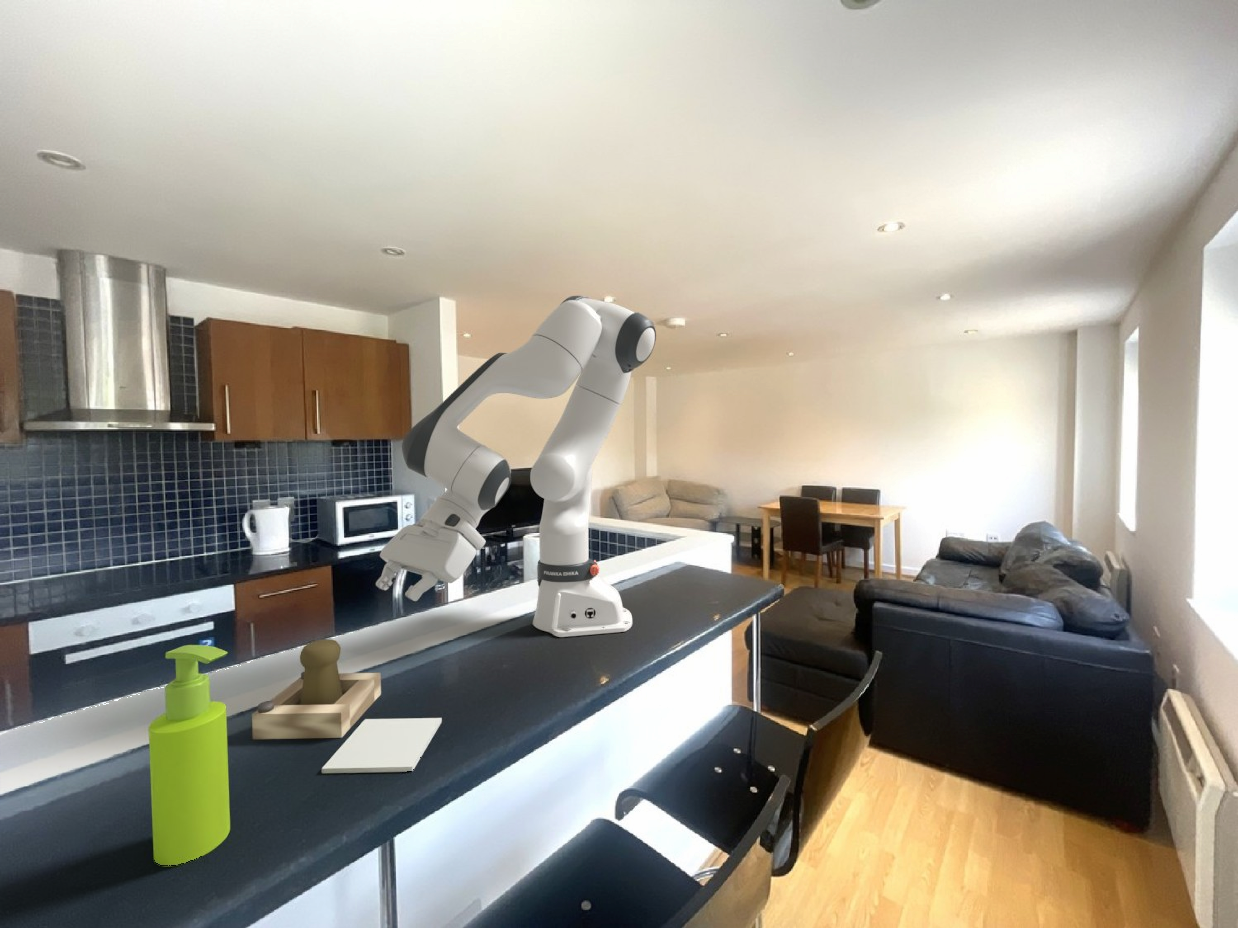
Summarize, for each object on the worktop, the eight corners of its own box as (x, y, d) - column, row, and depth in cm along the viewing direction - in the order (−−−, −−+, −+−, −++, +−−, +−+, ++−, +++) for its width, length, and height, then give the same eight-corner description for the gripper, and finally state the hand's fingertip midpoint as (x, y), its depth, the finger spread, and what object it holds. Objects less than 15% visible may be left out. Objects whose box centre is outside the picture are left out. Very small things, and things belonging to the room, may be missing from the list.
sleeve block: (380, 693, 81) (380, 667, 80) (341, 737, 69) (340, 706, 68) (305, 695, 80) (304, 668, 80) (252, 739, 68) (251, 708, 68)
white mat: (441, 721, 72) (441, 717, 72) (412, 771, 61) (412, 766, 61) (365, 723, 72) (364, 719, 72) (321, 773, 61) (321, 768, 61)
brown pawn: (288, 721, 73) (286, 647, 72) (325, 701, 78) (323, 632, 78) (318, 729, 70) (316, 653, 70) (354, 708, 76) (353, 637, 76)
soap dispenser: (195, 873, 47) (187, 664, 46) (137, 860, 48) (129, 657, 47) (252, 826, 53) (246, 639, 52) (199, 816, 54) (193, 634, 53)
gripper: (403, 510, 94) (351, 572, 87) (469, 521, 82) (414, 594, 74) (425, 530, 98) (376, 591, 90) (492, 543, 85) (441, 615, 78)
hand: (394, 592), depth 82 cm, fingers open, 8 cm apart
